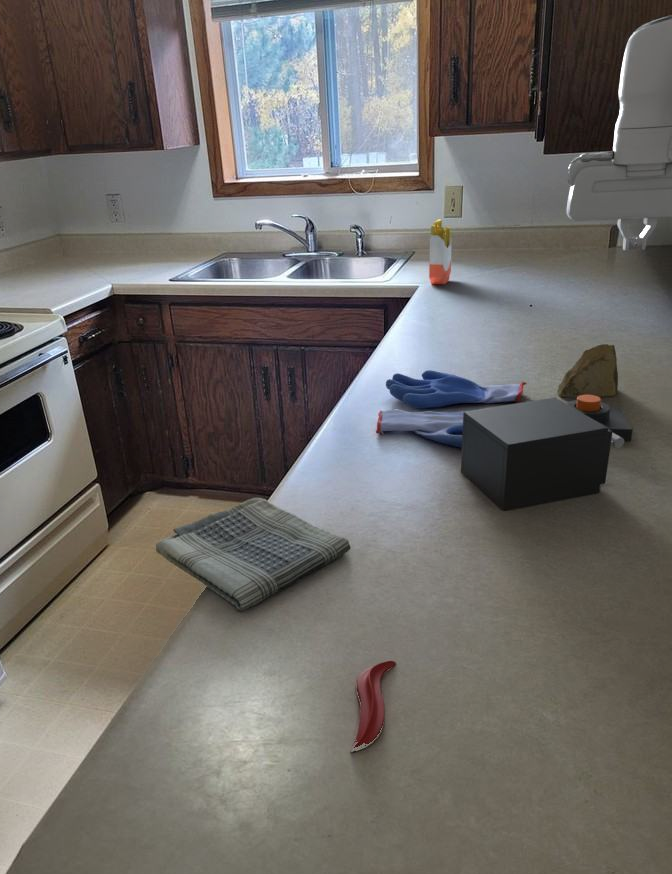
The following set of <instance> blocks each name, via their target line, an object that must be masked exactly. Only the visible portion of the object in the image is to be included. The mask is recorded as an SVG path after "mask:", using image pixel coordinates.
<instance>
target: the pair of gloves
mask: <svg viewBox="0 0 672 874" xmlns="http://www.w3.org/2000/svg"><path fill="white" fill-rule="evenodd" d="M421 377H422V379H418V378H413V377H411V376H408V375H405V374H402V373H394V374H392V378H389V379H386V381H385V387H386V389H387V390H388V391H389V393H390V396H392V397H394V398H395V399H397V400H399V401H401V402H403V403H404V404H405V405H406V406H408V407H412V408H415V409H425V408H441V407H446V406H450V405H455V404H472V403H473V404H474V403H475V404H476V403H483V404H494V403H495V404H496V403H510V402H515V404H516V403H520V401H521V397H522V395H523V392H524V386H525V385H527V382H525V381H522V382H520V383H518V384H501V385H494V384H493V385H486V386H484V385H482V384H478V383H477V382H474V381H473V380H470V379H467V378H465V377H462V376H459V375H455V374H452V373H451V374H450V373H448V372H447V373H446V372H440V371H436V370H430V369H429V370H427V369H426V370H424V371H423V372H422V373H421ZM465 411H466V410H462V411H450V412H449V411H447V412H446V411H444V412H442V411H430V410H424V411H422V412H421V411H419V412H418V411H417V412H415V411H414V412H411V411H406V410H403V409H397V408H395V409H388V410H379V412H378V419H377V422H376V429H375V433H376V434H380V433H381V434H382V435H385V433H384V432H414V433H415V434H417V435H419V436H421V437H423V438H425V439H427V440H431V441H434V442H437V443H441V444H444V445H450V446H452V447H457V448H461V449H462V434H463V413H464V412H465Z"/></svg>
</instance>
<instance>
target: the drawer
mask: <svg viewBox="0 0 672 874" xmlns="http://www.w3.org/2000/svg"><path fill="white" fill-rule="evenodd" d="M607 434H608V435H607V442H606V449H605V456H604V463H603V471H602V478H601V485H604V484H606V480H607V474H608V467H609V460H610V459H609V458H610V454H611V447H612V448H615V449H620V448H622V447H623V446H624V444H625V442H624V439H623V438H621V437H620V436H618V435H616V434H614V433H613V431H611V430H610V429H608V433H607Z"/></svg>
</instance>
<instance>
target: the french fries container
mask: <svg viewBox="0 0 672 874" xmlns="http://www.w3.org/2000/svg"><path fill="white" fill-rule="evenodd" d="M442 221H443V220H442V219H436V221H433V224H431V225H430V234H429V269H428V270H429V272H428V276H429V277H428V278H429V282H430V284H431V285H446V284H447V283H448V282H449V281H450V277H451V272H452V244H453V243H452V241H453V240H452V239H453V238H452V236H453V235H452V231H451V226H449V225H448V226H445V227H443V226H442V225H443V223H442Z"/></svg>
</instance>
